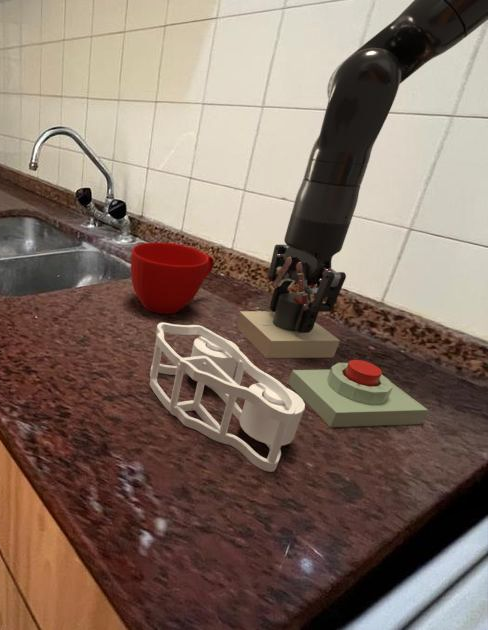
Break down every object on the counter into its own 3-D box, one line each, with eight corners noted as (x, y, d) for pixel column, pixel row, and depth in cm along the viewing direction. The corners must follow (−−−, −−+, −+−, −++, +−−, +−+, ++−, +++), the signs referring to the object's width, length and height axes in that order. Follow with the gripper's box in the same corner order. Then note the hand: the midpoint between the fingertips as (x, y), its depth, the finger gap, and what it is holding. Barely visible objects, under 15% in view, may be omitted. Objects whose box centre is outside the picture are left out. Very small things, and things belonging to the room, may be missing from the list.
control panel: (295, 327, 77) (301, 310, 76) (333, 357, 68) (340, 339, 67) (235, 327, 75) (239, 310, 74) (266, 358, 66) (271, 339, 65)
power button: (363, 371, 58) (367, 359, 57) (384, 387, 55) (389, 375, 54) (337, 371, 57) (342, 359, 56) (357, 388, 54) (362, 375, 53)
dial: (267, 318, 72) (274, 290, 70) (292, 318, 73) (300, 291, 71) (282, 331, 68) (290, 302, 66) (308, 331, 69) (318, 302, 67)
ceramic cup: (229, 312, 81) (242, 259, 76) (154, 327, 73) (163, 269, 69) (182, 286, 91) (191, 238, 87) (111, 297, 84) (117, 245, 79)
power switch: (367, 382, 62) (377, 357, 61) (420, 424, 54) (434, 397, 53) (287, 383, 61) (296, 358, 59) (330, 427, 53) (341, 399, 51)
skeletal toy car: (312, 463, 47) (335, 406, 44) (221, 482, 44) (239, 422, 41) (207, 363, 64) (218, 317, 61) (136, 371, 61) (144, 323, 58)
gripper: (383, 229, 57) (340, 343, 64) (314, 204, 70) (285, 302, 77) (329, 227, 56) (292, 343, 63) (269, 202, 69) (244, 301, 76)
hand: (288, 320), depth 70 cm, fingers open, 6 cm apart
